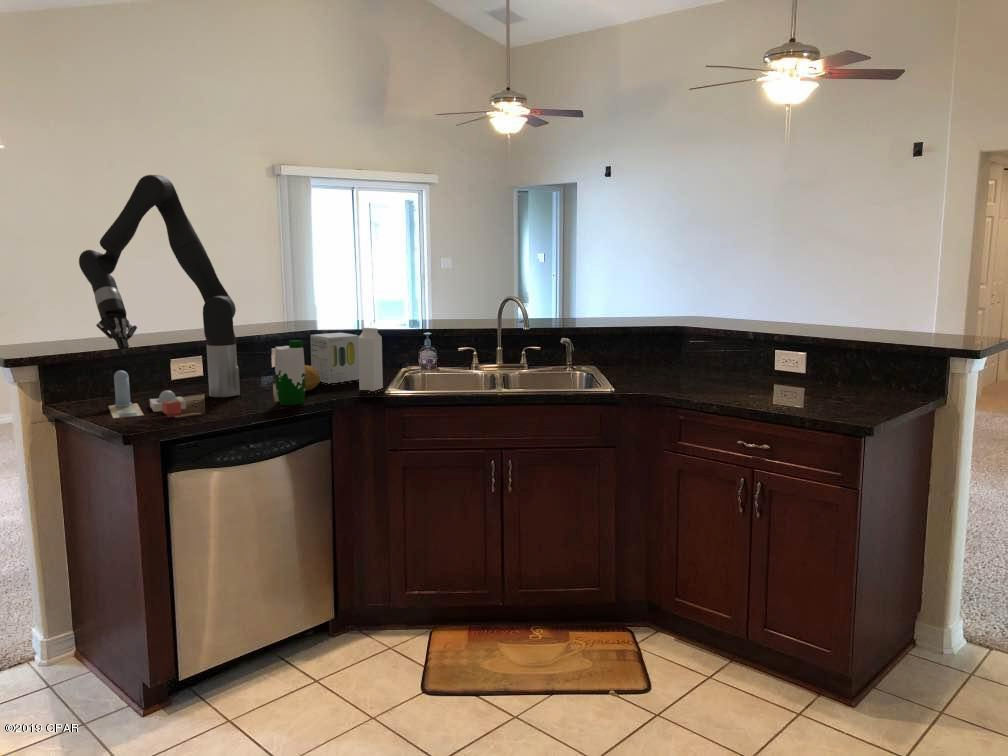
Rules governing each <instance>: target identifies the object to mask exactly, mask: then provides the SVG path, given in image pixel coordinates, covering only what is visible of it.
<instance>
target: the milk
mask: <svg viewBox="0 0 1008 756" xmlns="http://www.w3.org/2000/svg"><path fill="white" fill-rule="evenodd" d="M361 331H362V332H361V334H359V335H358V352H359V381H358V382H359V384H358V385H359V390H370V391H375V390H378V389H381V388H384V384H383V383H384V382H383V377H384V376H383V340H382V338H383V337H382V336H381V334H379V332H378V328H374V327H362V328H361Z"/></svg>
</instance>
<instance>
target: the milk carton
mask: <svg viewBox="0 0 1008 756" xmlns="http://www.w3.org/2000/svg"><path fill="white" fill-rule="evenodd" d="M288 344H289V345H283V346H275V352H274V353H275V354H274V375H275V376H274V377H275V378H274V379H275V390H276V393H277V398H278V402H279V404H281V405H283V406H296V405H297V404H299V405H305V398H306V397H305V396H306V392H305V365H306V364H305V354H304V352H305V351H304V347H303V340H302V339H291V340H289V341H288ZM281 405H280V406H281ZM297 406H298V405H297Z"/></svg>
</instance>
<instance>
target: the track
mask: <svg viewBox="0 0 1008 756" xmlns="http://www.w3.org/2000/svg"><path fill="white" fill-rule="evenodd" d="M108 409H109V411H110V414H111V416H112V419H116V421H121V420H120V419H121V418H127V420H132V419H131V418H132V417H137V419H144V418H145V417H144V416H145V414H144V413H143V411H142V409H141V407H140V405H139V404H138V403H132V406H129V407H115V404H113V405H108ZM140 416H141V417H140Z"/></svg>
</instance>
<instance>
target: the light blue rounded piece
mask: <svg viewBox="0 0 1008 756" xmlns="http://www.w3.org/2000/svg"><path fill="white" fill-rule="evenodd" d="M176 397H177V396H176V394H175V392H174V391H171V390H169V389H168V390H167V389H166V390H163V391H162V392H160V394H159V397H158V398H157V399H159V403H162V402H163V401H172V400H177V399H176Z"/></svg>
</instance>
